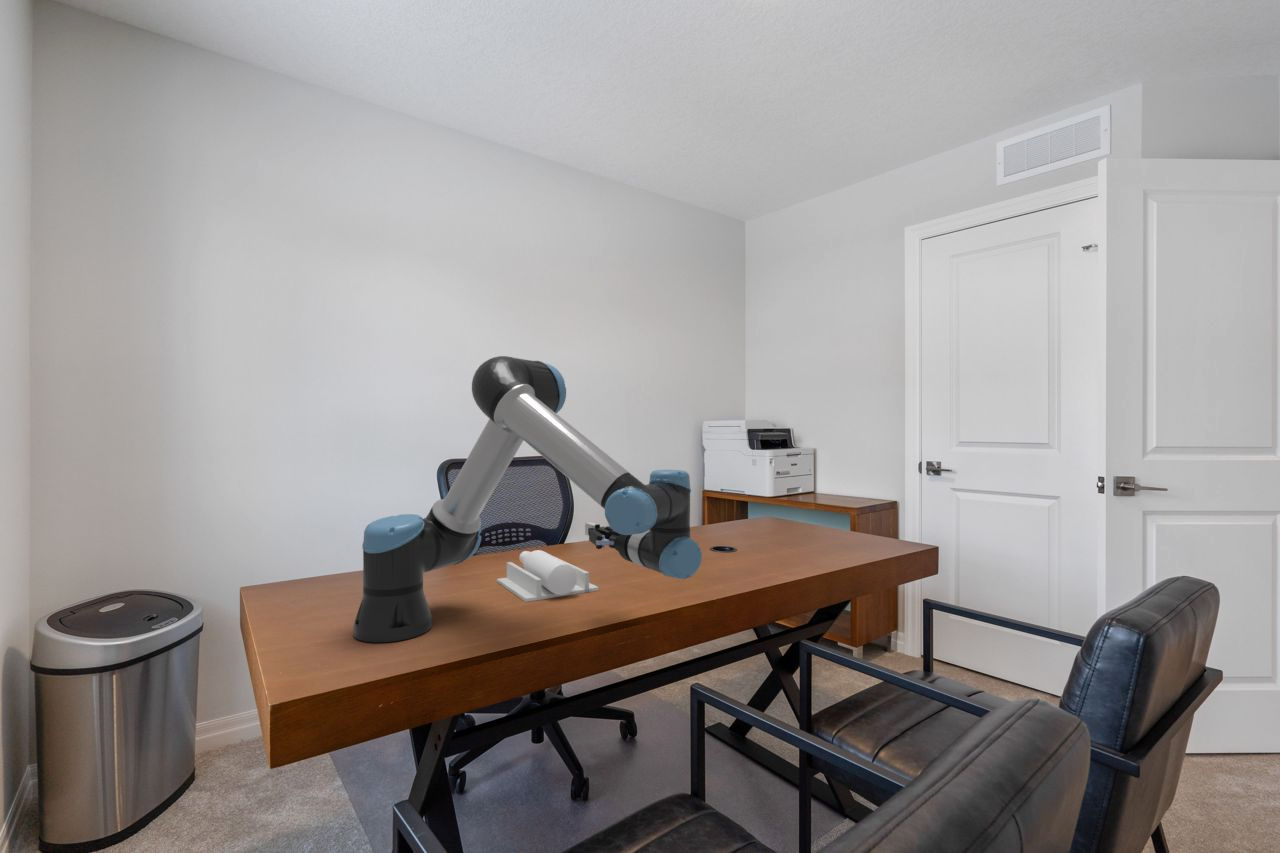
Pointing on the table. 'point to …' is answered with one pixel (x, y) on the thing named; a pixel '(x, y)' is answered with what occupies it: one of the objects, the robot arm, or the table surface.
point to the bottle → (550, 571)
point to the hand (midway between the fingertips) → (588, 528)
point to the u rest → (531, 586)
